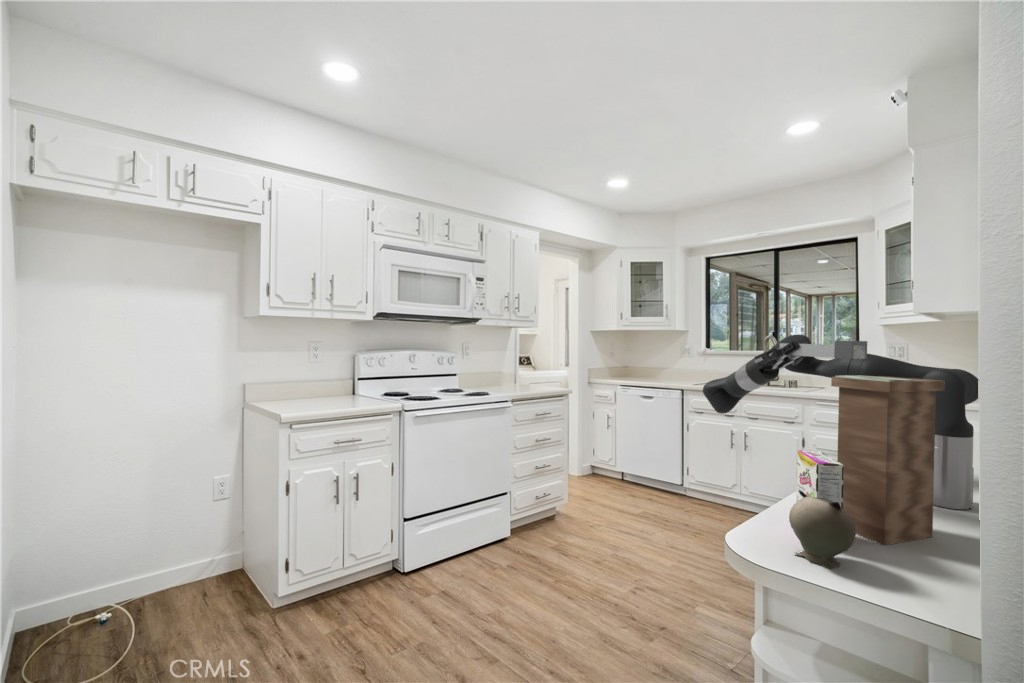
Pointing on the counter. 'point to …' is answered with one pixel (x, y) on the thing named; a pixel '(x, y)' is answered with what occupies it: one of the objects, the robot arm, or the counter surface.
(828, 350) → the brushed steel block
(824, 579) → the counter surface
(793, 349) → the robot arm
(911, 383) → the stand
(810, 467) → the candy bar box
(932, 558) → the counter surface
